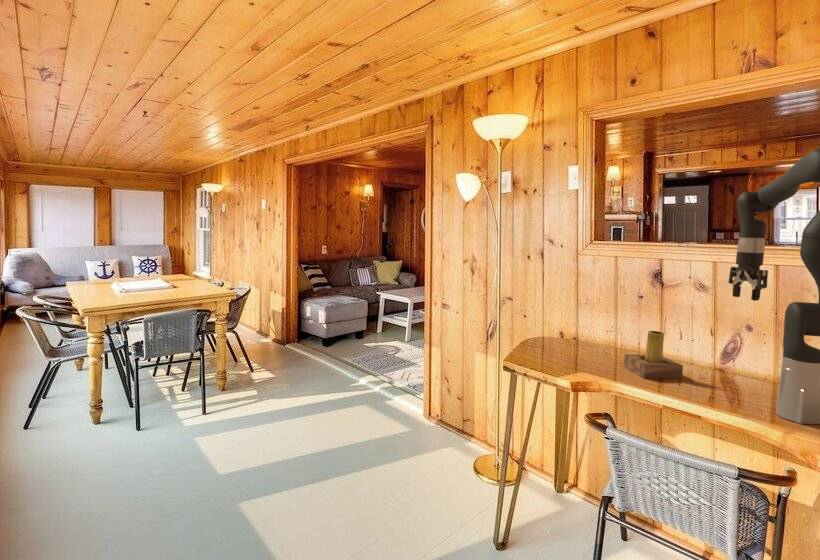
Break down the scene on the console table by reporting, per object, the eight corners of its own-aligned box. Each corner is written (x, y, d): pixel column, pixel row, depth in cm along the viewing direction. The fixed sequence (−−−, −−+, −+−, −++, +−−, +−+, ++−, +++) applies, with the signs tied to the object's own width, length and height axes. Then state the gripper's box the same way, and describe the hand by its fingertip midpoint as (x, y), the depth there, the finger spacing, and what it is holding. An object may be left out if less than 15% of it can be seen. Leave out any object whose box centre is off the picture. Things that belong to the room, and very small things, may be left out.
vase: (664, 373, 170) (667, 334, 169) (645, 371, 172) (649, 333, 170) (658, 368, 176) (662, 331, 175) (641, 366, 178) (644, 329, 176)
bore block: (681, 379, 168) (683, 365, 167) (643, 378, 167) (644, 364, 167) (659, 367, 182) (660, 354, 181) (623, 366, 181) (624, 354, 180)
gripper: (778, 252, 153) (772, 302, 154) (745, 250, 167) (740, 295, 169) (756, 252, 152) (750, 301, 154) (724, 250, 167) (720, 295, 168)
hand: (745, 298), depth 161 cm, fingers open, 8 cm apart
